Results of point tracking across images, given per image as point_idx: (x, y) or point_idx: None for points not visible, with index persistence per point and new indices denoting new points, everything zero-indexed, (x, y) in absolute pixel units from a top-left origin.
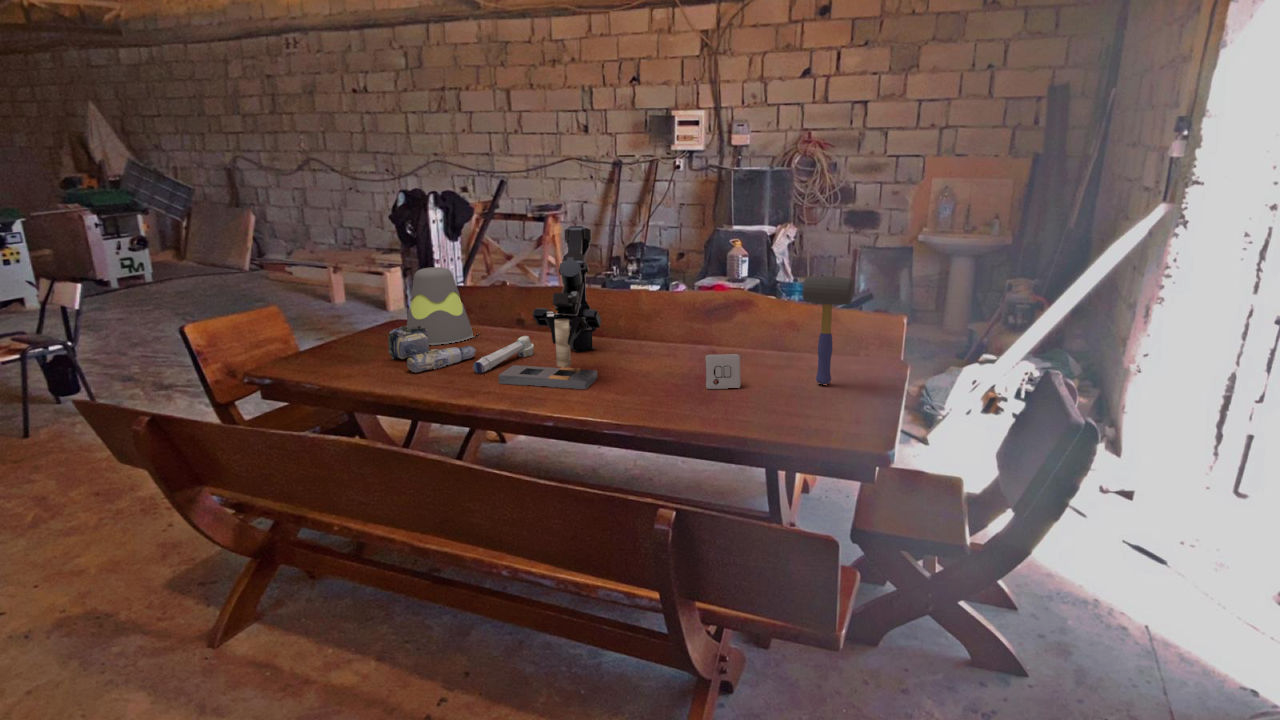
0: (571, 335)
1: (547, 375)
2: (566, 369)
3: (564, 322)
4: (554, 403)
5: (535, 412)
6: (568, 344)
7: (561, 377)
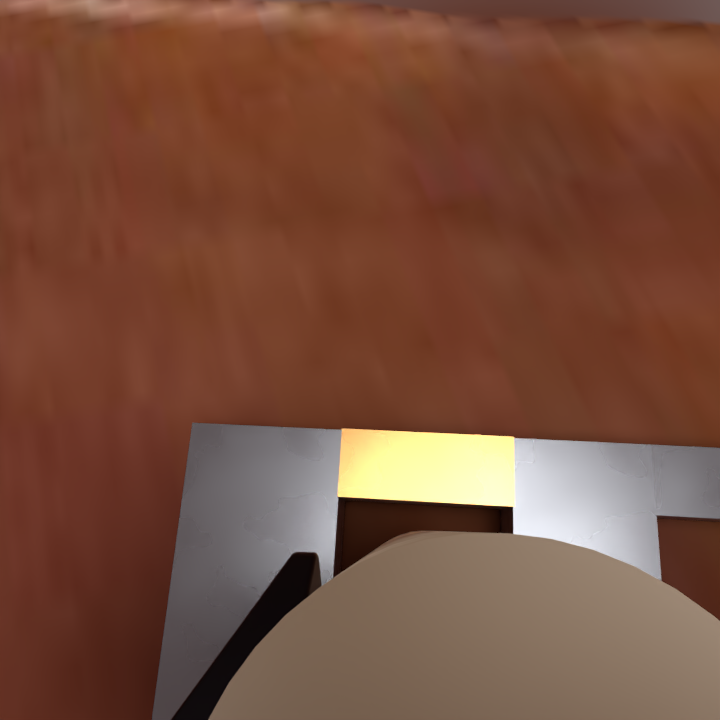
0: (234, 657)
1: (556, 521)
2: None
3: (300, 608)
4: (344, 159)
5: (401, 23)
6: (318, 578)
7: (401, 453)
